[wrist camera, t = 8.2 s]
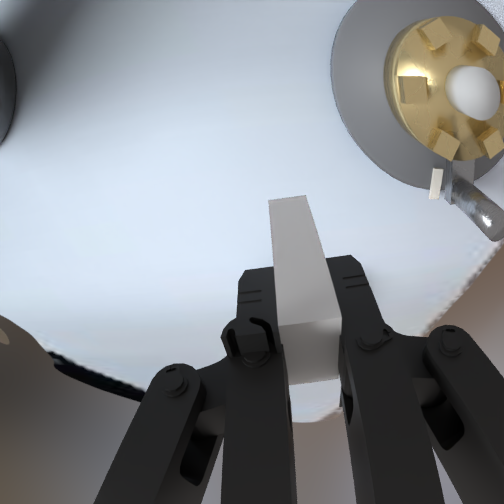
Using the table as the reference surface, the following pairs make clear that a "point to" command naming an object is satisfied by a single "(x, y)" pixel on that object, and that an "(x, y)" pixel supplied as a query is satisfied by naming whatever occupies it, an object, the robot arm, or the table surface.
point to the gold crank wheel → (448, 105)
